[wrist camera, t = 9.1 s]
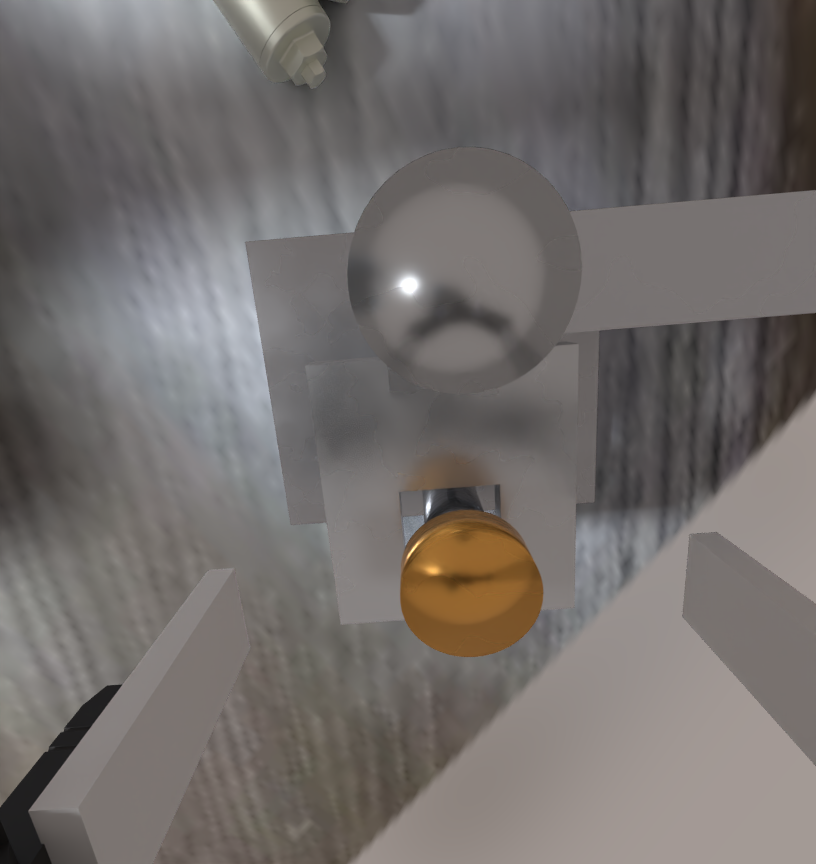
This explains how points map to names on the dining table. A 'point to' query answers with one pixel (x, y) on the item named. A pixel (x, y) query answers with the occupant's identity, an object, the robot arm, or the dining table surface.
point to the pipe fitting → (282, 36)
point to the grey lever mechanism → (486, 347)
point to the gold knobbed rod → (467, 577)
